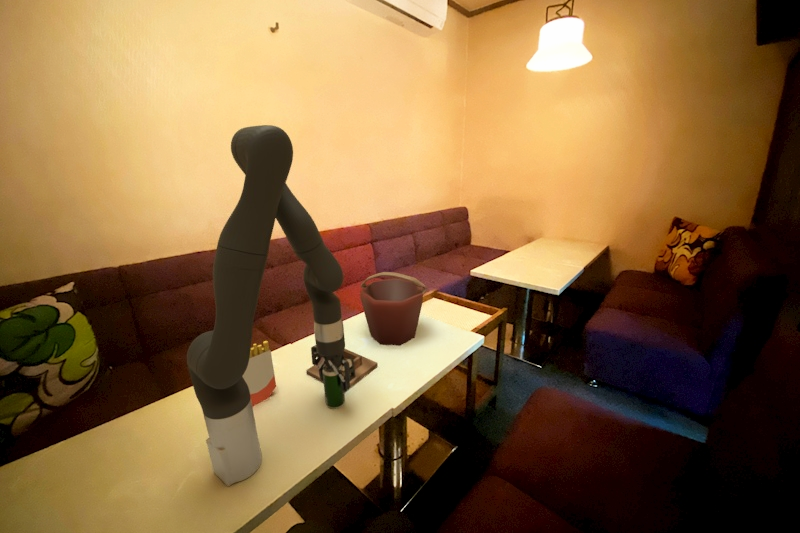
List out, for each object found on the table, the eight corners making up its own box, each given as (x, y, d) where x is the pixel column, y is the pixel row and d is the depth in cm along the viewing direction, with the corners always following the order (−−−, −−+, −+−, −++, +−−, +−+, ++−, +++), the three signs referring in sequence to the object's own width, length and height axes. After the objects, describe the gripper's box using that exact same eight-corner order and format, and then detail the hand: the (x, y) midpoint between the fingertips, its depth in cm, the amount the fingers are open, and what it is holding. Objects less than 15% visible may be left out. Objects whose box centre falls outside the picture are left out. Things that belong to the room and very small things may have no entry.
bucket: (434, 330, 137) (436, 270, 128) (405, 359, 119) (404, 291, 111) (383, 315, 149) (381, 259, 141) (349, 339, 132) (344, 276, 123)
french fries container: (233, 404, 99) (222, 349, 93) (270, 386, 106) (261, 334, 100) (240, 412, 96) (228, 356, 90) (277, 393, 103) (269, 340, 97)
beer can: (330, 412, 96) (326, 375, 92) (322, 401, 100) (319, 365, 96) (348, 404, 99) (345, 368, 95) (340, 393, 103) (337, 358, 99)
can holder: (342, 393, 103) (341, 380, 101) (306, 374, 112) (305, 362, 110) (377, 366, 115) (377, 354, 114) (342, 351, 124) (341, 339, 122)
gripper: (300, 331, 93) (307, 382, 99) (338, 348, 85) (343, 402, 91) (321, 320, 99) (326, 368, 104) (359, 335, 91) (363, 386, 96)
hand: (334, 384), depth 98 cm, fingers open, 8 cm apart
